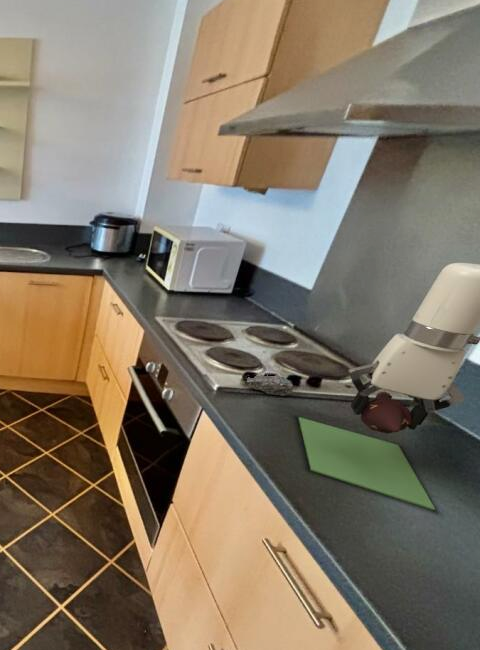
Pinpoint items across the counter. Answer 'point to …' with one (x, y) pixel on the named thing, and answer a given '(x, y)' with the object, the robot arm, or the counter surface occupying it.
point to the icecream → (386, 414)
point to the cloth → (362, 462)
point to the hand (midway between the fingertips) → (381, 418)
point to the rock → (271, 384)
